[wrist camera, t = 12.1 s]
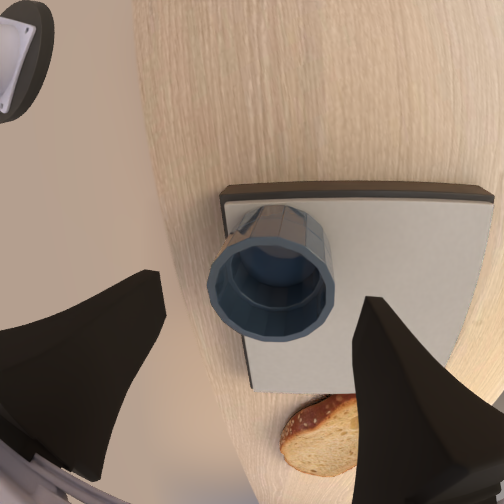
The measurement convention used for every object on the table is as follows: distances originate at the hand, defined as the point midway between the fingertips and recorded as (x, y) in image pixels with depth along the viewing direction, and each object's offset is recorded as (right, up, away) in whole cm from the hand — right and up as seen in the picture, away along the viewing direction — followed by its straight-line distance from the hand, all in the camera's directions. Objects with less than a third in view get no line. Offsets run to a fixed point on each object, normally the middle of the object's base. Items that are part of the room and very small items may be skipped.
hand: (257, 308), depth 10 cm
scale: (+8, -1, +10) cm, 13 cm away
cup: (+1, +2, +7) cm, 7 cm away
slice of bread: (+10, -20, +20) cm, 30 cm away
